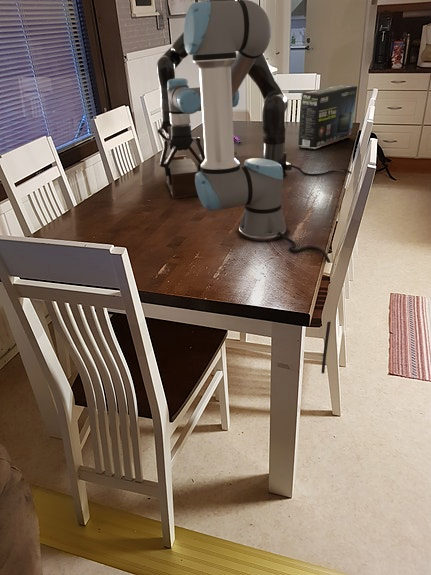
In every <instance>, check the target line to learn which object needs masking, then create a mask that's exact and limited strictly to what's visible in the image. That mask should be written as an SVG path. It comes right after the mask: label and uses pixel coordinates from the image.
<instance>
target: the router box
mask: <svg viewBox="0 0 431 575" xmlns="http://www.w3.org/2000/svg"><path fill="white" fill-rule="evenodd" d="M357 93H358V86H356V85H350V84H339V85H338V84H337V85H334V86H328V87H324V88H318V89H314V90H309V91H304V92H301V93H300V109H299V110H300V111H299V124H298V137H297V146H298V145H302V146H307V147H317V146H320V145H323V144H325V143H328V142H331V141H333V140H336V139H338V138H341V137H344V136H347V135H351V136H352V133H353V132H352V131H353V125H354V115H355V109H356V99H357ZM311 151H313V150H312V149H311Z"/></svg>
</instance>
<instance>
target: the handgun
mask: <svg viewBox="0 0 431 575" xmlns="http://www.w3.org/2000/svg"><path fill="white" fill-rule="evenodd" d="M235 136H236V135H235ZM235 136H234V137H235ZM235 139H236V140H237V141H241V139H239V137H238V136H236V137H235ZM235 139H234V140H235ZM236 140H235V141H236ZM237 141H236V142H237ZM241 144H242V141H241V142H239V143H238V145H241Z"/></svg>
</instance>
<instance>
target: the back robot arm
mask: <svg viewBox="0 0 431 575" xmlns="http://www.w3.org/2000/svg"><path fill="white" fill-rule="evenodd" d="M208 1H233V0H208ZM189 55H190V54H188V53H187V52H186V50H185V45H184V31H183V32H182V33H181V34H180V35H179V36H178V37H177V39H176V40H174V42H173V44H172V45H171V47H170V48H168V49H167V50H166V51H165V52H164V54H163V55H161V56H160V58H158V60H157V62H156V69H157V72H156V73H157V78H158V83H159V97H160V101H159V102H160V103H159V104H160V115H161V116H160V117H161V124H160V127H159V128H157V129H156V131H157V133H158V135H160V137H161V138H162V139H163V141H164V140H171V125H172V124H170V112H169V101H168V92H167V82H168V80H170V79H176V71H175V70H176V69H177V68H178V66H179V65H180V64H181V63H182V62H183V61H184V60H185V59H186V58H187V57H188V56H189ZM247 76H249V78H250V79H251V80H252V81H253V83H254V84H255V85H256V86H257V88H258V90H259V92H260V94H261V96H262V98H263V102H262V107H261V108H262V109H261V128H262V159H267V160H272V161H275V162H277V163H279V164H280V165H281V166H282V169H283V176H286V175H287V174H286V173H287V171H292V169H293V168H294V169H296V170H298V171H299V172H300V173H301V174H302V175H305V176H310V177H311V176H313V177H317V176H325V175H327V174H331V173H338V172H340V171H335V170H336V169H333V170H328V171H325V172H319V173H318V172H317V173H308V172H305V171H303V170H302V169H301V167H298V166H296V165H293V163H291V162H288V161H287V152H285V150H286V124H285V121H286V120H285V119H286V111H287V109H288V106H289V104H288V98H287V97H286V94H284V92H283V91H282V88H281V86H280V85H279V84H278V82H277V81H276V79H275V77H274V75H273V72H272V70H271V68H270V65H269V62H268V60H267V59H266V56H265V53H264V54H263V55H262V56H261V57H259V58H257V59H256V60H255V62H254V63H253V65H252V67H251V69H250V70H249V72H248V74H247ZM164 132H165V133H166V135H167V136H166V135H165V134H164ZM172 148H173V145H172V143H170V145H169V149H170V151H172ZM339 169H340V170H344V171H343V172H347V173H348V174H350V175H351V174H353V172H351V171H350V170H349V169H346V168H339Z"/></svg>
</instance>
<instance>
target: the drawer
mask: <svg viewBox="0 0 431 575" xmlns="http://www.w3.org/2000/svg"><path fill="white" fill-rule="evenodd" d="M167 158H168V156H166V157H165V161H166V160H167ZM181 159H188V158H187V154H183V155H182V154H181V155H174V157H173V159H172V160H181ZM165 161H164V163H165Z"/></svg>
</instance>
